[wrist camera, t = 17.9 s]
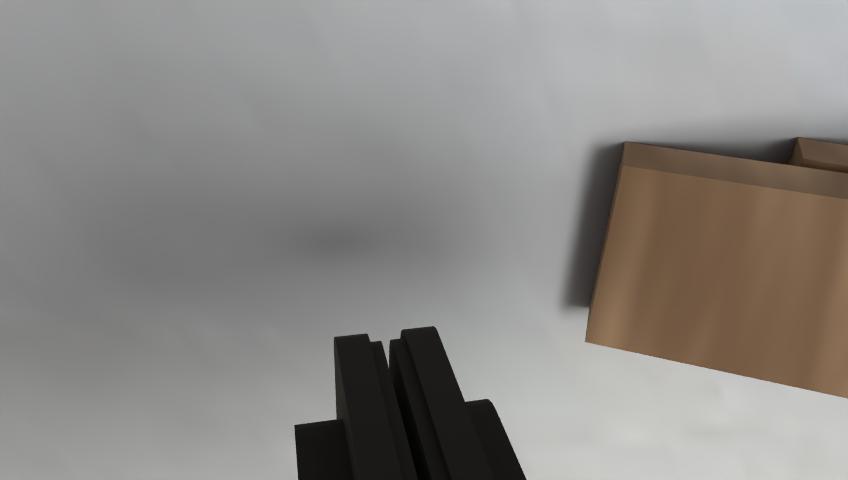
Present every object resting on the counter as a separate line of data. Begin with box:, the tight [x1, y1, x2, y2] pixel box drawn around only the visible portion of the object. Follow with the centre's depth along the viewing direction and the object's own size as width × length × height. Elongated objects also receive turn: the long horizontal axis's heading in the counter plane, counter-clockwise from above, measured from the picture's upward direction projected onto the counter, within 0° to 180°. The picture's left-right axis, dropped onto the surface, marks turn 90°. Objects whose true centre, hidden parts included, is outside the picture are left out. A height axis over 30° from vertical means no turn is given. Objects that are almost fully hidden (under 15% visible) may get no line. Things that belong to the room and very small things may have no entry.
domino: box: [585, 142, 848, 398], centre depth 15 cm, size 2×5×10 cm
